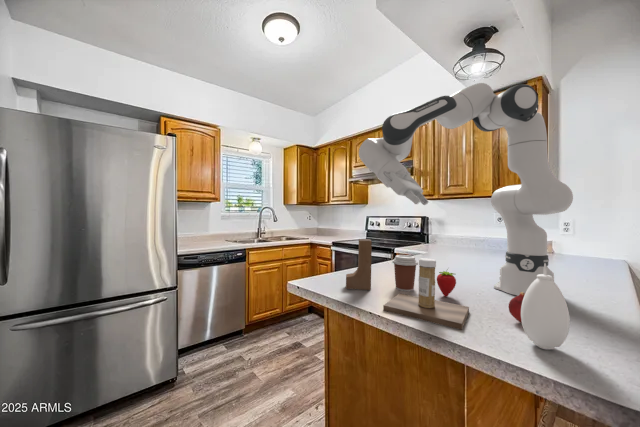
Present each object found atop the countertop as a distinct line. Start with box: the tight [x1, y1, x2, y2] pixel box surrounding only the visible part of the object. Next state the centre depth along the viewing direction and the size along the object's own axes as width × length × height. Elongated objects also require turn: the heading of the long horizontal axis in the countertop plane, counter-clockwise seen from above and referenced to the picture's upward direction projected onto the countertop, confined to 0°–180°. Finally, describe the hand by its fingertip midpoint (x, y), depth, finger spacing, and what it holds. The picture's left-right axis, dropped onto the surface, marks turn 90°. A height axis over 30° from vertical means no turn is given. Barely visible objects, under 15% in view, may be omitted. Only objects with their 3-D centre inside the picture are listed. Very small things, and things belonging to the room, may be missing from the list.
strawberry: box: [436, 268, 457, 298], centre depth 88 cm, size 6×8×10 cm
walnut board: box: [382, 292, 470, 331], centre depth 74 cm, size 14×20×2 cm
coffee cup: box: [391, 254, 419, 292], centre depth 96 cm, size 9×9×12 cm
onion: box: [508, 292, 525, 324], centre depth 67 cm, size 6×6×8 cm
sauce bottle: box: [521, 263, 571, 351], centre depth 55 cm, size 8×8×18 cm
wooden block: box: [345, 238, 373, 291], centre depth 96 cm, size 9×4×18 cm, turn 84°
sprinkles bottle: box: [418, 257, 437, 308], centre depth 75 cm, size 5×5×13 cm
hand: (422, 203), depth 83 cm, fingers open, 8 cm apart
